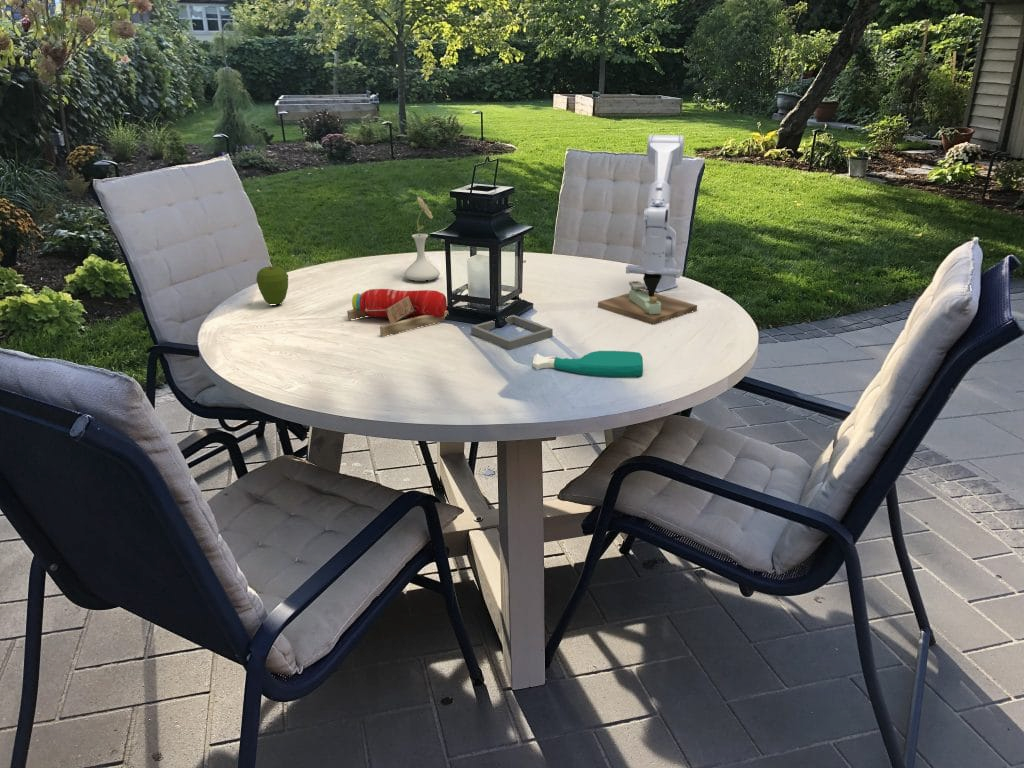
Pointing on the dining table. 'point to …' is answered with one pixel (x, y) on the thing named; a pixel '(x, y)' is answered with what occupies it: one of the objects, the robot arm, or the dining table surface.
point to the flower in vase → (421, 254)
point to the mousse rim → (539, 334)
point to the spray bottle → (596, 364)
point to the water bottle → (400, 303)
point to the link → (644, 302)
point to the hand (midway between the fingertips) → (651, 300)
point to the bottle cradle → (400, 322)
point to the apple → (273, 284)
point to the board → (630, 309)
